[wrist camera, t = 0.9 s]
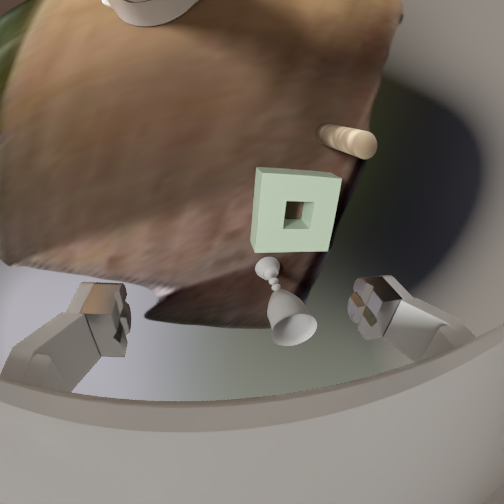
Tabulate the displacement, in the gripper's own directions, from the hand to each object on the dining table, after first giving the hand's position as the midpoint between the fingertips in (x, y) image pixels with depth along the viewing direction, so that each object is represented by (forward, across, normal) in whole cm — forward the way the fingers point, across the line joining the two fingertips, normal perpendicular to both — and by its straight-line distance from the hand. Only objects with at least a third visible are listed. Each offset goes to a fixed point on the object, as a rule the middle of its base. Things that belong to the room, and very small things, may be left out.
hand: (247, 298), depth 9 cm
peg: (+38, -20, -4) cm, 43 cm away
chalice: (+38, -12, +23) cm, 47 cm away
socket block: (+38, -15, +10) cm, 42 cm away
